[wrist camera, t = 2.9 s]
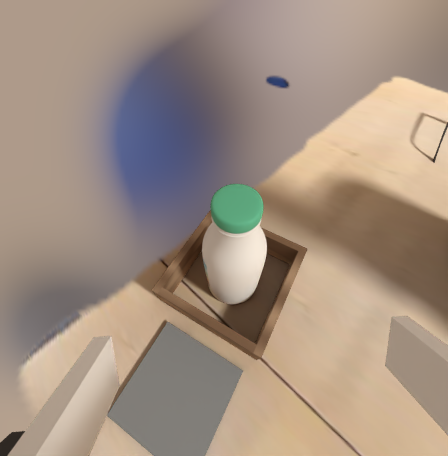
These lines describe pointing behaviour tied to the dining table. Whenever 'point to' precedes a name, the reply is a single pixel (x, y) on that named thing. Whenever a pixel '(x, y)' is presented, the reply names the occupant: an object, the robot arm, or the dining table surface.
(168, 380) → the slate mat
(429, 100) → the dining table surface
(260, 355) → the walnut frame
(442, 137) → the sunglasses
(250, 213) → the milk bottle
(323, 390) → the dining table surface
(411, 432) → the dining table surface
